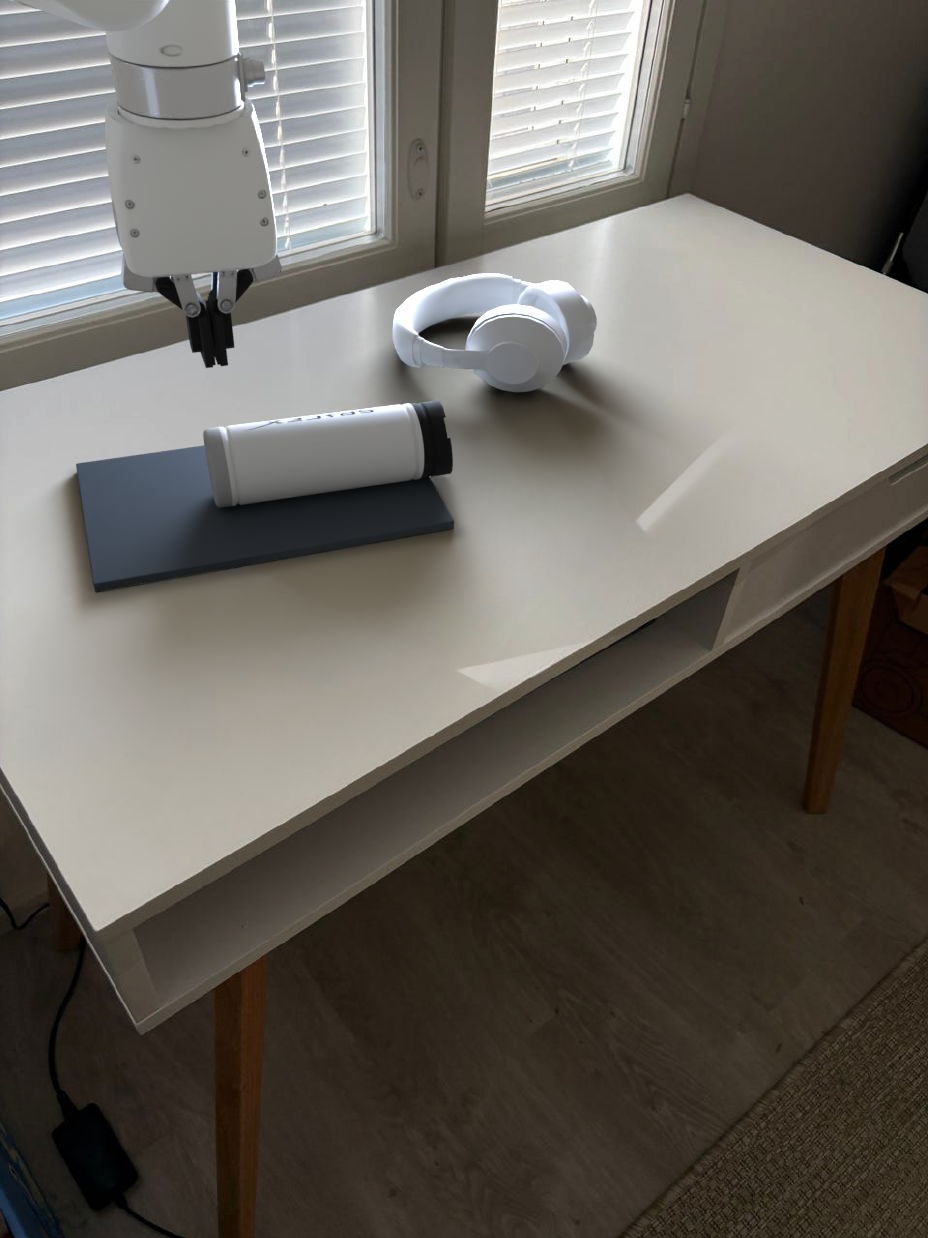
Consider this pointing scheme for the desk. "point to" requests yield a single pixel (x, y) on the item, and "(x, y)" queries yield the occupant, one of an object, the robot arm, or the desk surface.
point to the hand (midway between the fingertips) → (213, 357)
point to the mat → (228, 519)
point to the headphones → (500, 328)
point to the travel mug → (326, 452)
